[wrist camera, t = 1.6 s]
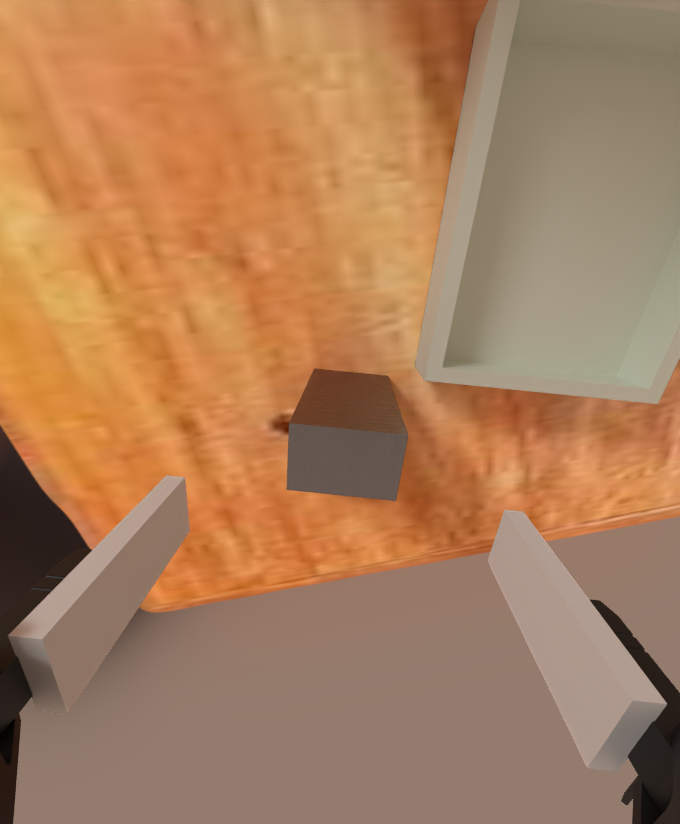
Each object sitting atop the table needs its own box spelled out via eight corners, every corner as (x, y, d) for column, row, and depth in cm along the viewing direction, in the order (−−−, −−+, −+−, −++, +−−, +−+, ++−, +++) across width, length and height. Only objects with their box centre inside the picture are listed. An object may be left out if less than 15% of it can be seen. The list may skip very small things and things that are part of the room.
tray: (476, 25, 19) (505, -37, 15) (755, 52, 19) (854, -4, 15) (414, 366, 26) (424, 380, 23) (614, 386, 26) (657, 404, 23)
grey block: (314, 368, 27) (289, 423, 17) (387, 376, 27) (408, 435, 17) (307, 473, 31) (283, 571, 20) (372, 480, 30) (380, 581, 20)
